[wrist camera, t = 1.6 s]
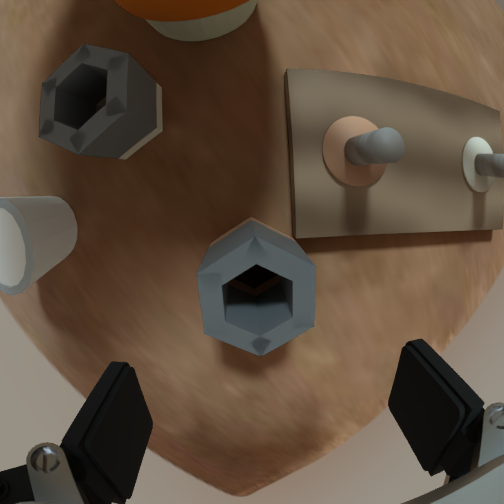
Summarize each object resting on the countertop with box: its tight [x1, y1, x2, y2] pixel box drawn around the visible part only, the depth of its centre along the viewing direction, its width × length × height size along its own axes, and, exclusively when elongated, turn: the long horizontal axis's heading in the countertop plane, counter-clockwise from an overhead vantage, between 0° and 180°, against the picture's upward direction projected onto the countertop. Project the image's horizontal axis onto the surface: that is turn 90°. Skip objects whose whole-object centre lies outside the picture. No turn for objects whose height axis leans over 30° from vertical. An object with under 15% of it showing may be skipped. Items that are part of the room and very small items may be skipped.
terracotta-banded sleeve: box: [197, 216, 316, 356], centre depth 18 cm, size 7×6×7 cm
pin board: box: [284, 68, 504, 238], centre depth 17 cm, size 12×22×6 cm, turn 93°
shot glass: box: [0, 196, 77, 295], centre depth 17 cm, size 7×7×7 cm
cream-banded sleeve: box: [39, 44, 163, 160], centre depth 15 cm, size 7×6×7 cm
